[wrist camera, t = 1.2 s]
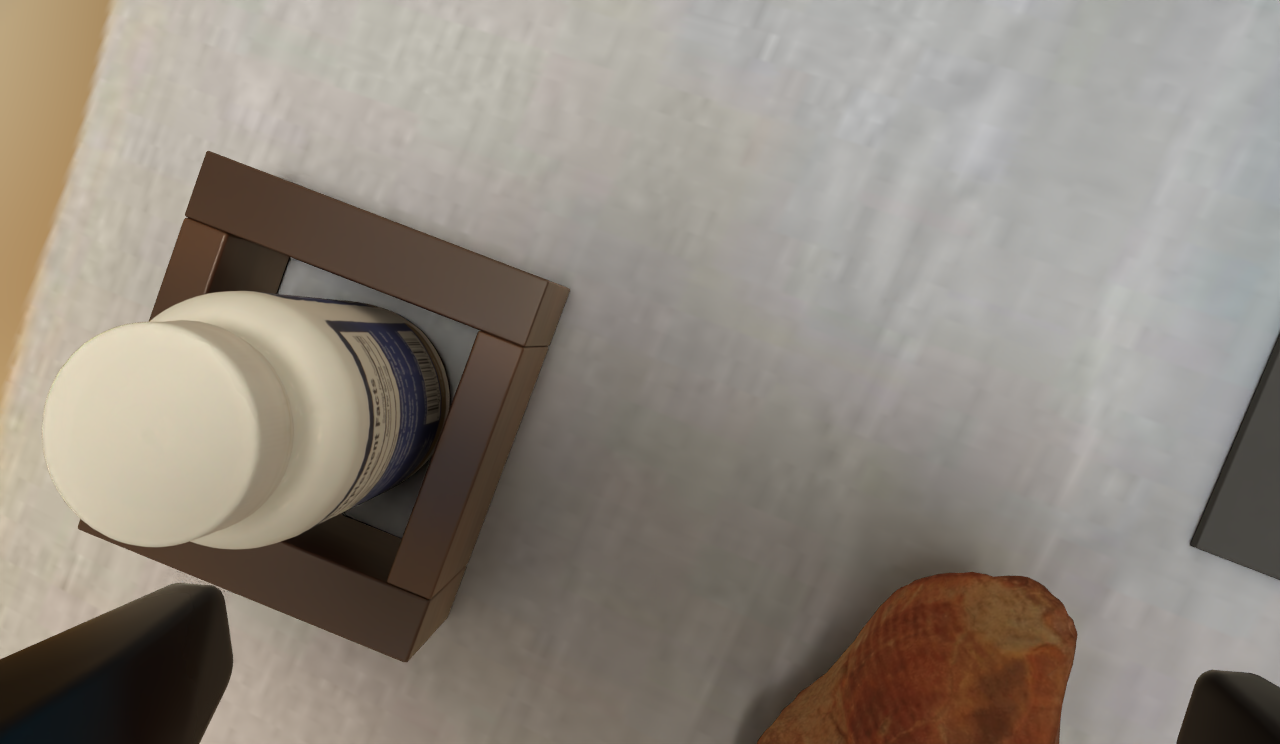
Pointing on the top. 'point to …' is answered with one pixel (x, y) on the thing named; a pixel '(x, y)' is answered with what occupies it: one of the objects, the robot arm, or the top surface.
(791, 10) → the top surface
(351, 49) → the top surface
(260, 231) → the holder
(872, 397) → the top surface
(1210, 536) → the mat
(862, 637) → the fossil
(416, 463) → the pill bottle
